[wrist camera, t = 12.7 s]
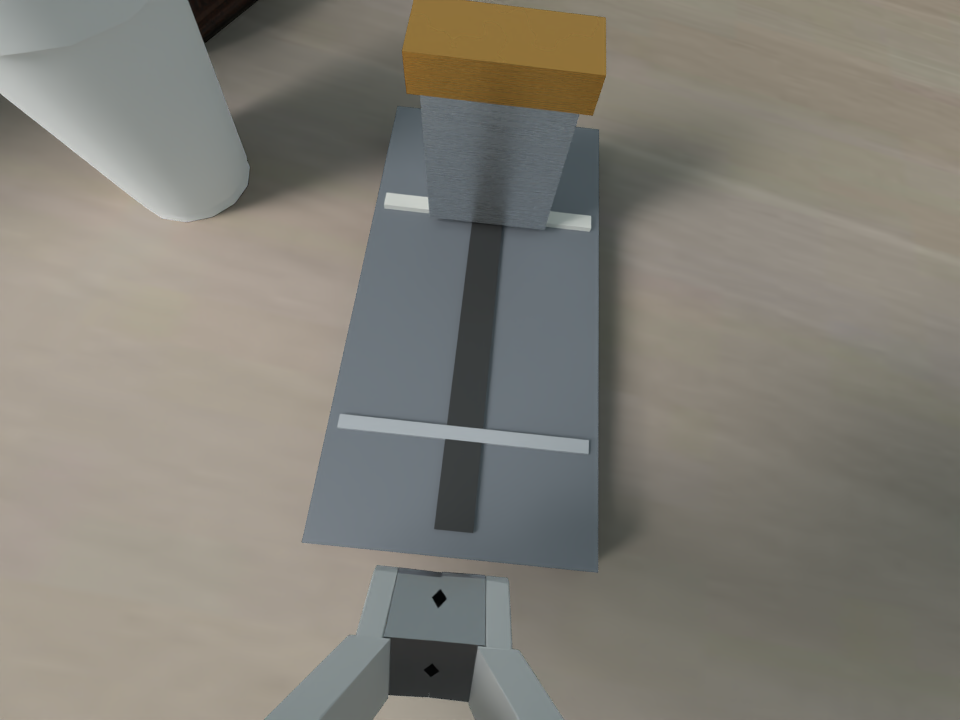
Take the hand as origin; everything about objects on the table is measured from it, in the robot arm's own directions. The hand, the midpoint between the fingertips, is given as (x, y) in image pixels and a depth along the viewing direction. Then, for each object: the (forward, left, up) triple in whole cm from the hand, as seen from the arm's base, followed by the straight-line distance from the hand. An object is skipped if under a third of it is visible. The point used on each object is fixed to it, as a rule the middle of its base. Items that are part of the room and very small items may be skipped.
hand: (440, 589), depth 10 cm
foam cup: (-25, +5, -11) cm, 28 cm away
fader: (-11, +14, -8) cm, 19 cm away
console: (-7, +10, -10) cm, 16 cm away
